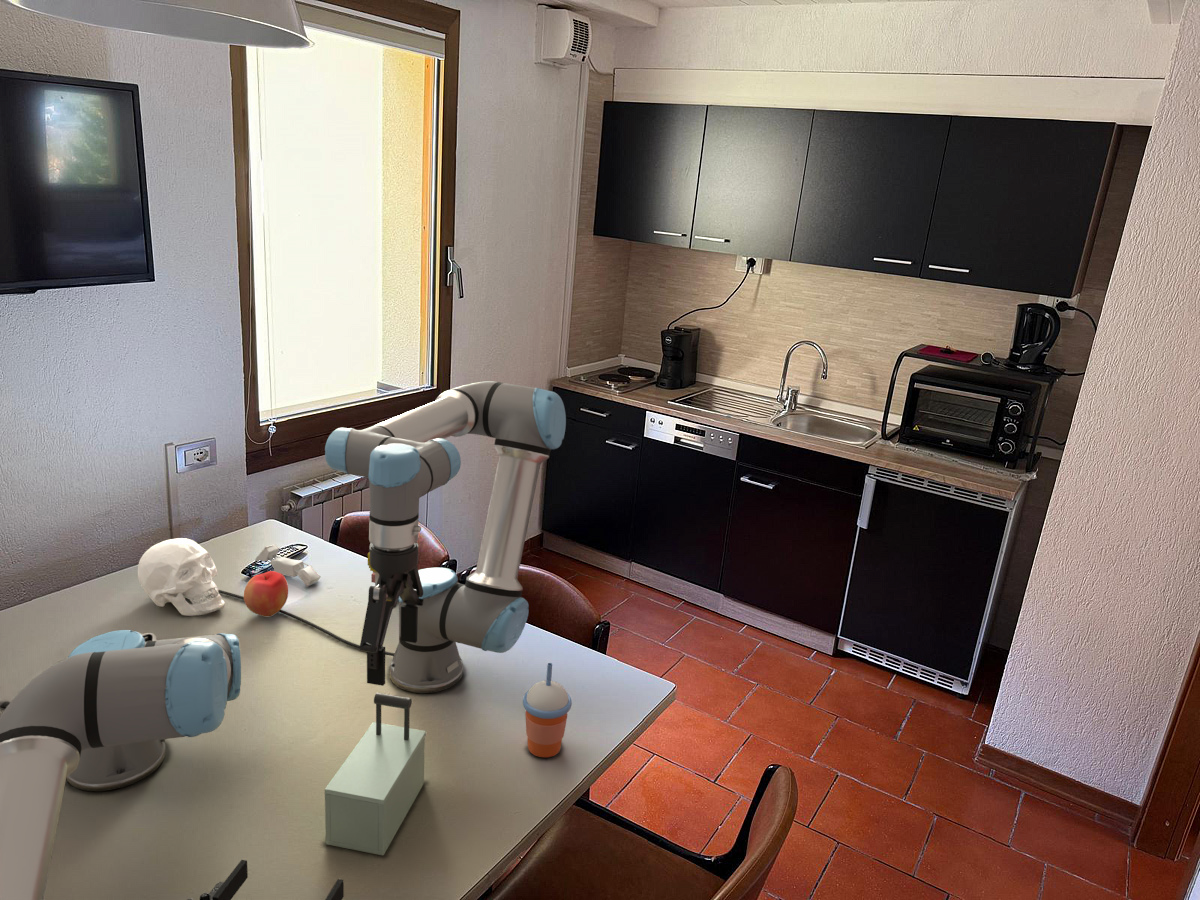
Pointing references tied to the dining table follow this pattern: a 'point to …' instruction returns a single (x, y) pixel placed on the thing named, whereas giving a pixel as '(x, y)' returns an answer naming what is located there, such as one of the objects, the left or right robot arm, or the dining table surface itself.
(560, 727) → the cup with straw
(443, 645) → the right robot arm
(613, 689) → the dining table surface
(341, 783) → the lid
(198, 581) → the skull
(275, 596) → the apple
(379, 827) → the chest
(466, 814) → the dining table surface
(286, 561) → the white long bent piece
